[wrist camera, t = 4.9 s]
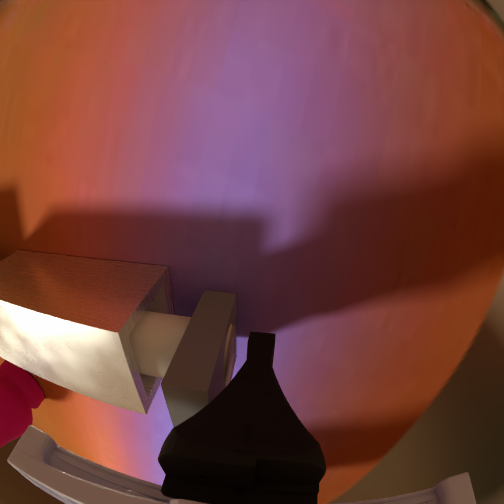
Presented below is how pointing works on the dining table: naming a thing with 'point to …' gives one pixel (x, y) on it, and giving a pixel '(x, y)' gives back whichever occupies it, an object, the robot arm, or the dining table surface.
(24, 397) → the pepper mill
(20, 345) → the sleeve
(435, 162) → the dining table surface
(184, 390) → the tube
